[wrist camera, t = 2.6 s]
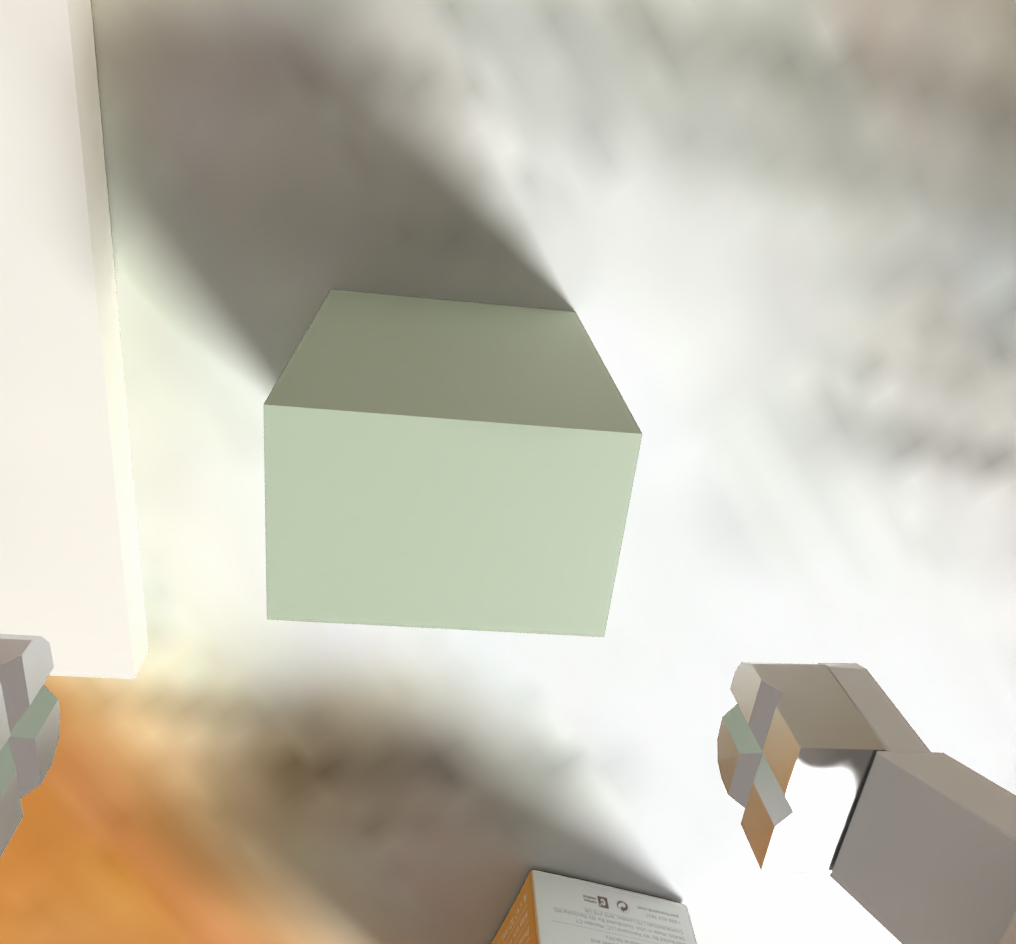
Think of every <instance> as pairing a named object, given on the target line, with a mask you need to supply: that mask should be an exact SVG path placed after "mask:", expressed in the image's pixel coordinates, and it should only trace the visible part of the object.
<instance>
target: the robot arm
mask: <svg viewBox="0 0 1016 944" xmlns="http://www.w3.org/2000/svg"><path fill="white" fill-rule="evenodd" d="M53 668H54V665H53V659H52V654H51V648H50V643H49V642H48V641H47V640H46V639H44V638H43V637H42V636H31V635H14V634H0V857H1V855H2V854H3V852H4V850H5V848H6V847H7V845H8V843H9V841H10V839H11V838H12V836H13V834H14V832H15V831H16V829H17V827H18V825H19V823H20V822H21V820H22V818H23V811H22V805H21V797H23V796H24V795H26V794H27V793H29V792H30V791H32V790H33V789H35V788H36V787H38V786H40V785H41V784H42V782H43V780H44V778H45V776H46V774H47V772H48V770H49V769H50V767H51V765H52V762H53V758H54V755H55V751H56V747H57V744H58V740H59V731H60V710H59V702H58V699H57V698H56V697H55V696H54V695H53V694H52V693H51V692H50V691H49V690H48V689H47V688H46V687H45V686H44V685H43V684H44V682H45V681H46V679H47V677H48V676H49V674H50V673H51V671H52V670H53ZM730 689H731V691H732V693H733V695H734V697H735V699H736V701H737V703H738V704H737V705H736V706H735V707H733V708H732V709H731V710H730V711H729V712H728V713H727V714H726V715H725V716H723V717H722V721H721V726H720V730H719V735H718V739H717V742H718V765H719V769H720V774H721V778H722V781H723V783H724V785H725V788H726V790H727V793H728V795H730V796H731V797H732V798H733V799H735V800H736V801H737V802H738V803H740V804H741V805H742V806H743V807H745V811H744V815H743V818H742V822H741V825H742V827H743V830H744V832H745V834H746V836H747V839H748V841H749V843H750V845H751V848H752V850H753V852H754V854H755V857H756V859H757V861H758V863H759V866H760V868H761V870H779V871H810V872H832V873H831V875H830V876H831V877H832V878H833V879H835V880H836V881H837V882H838V883H839V884H840V885H841V886H842V887H843V888H844V889H845V890H846V891H847V892H848V893H849V894H850V895H851V896H853V897H854V898H855V899H856V900H857V901H858V902H859V903H860V904H861V905H862V906H863V907H864V908H865V909H866V910H867V911H868V912H869V913H870V914H872V915H873V916H874V917H875V918H876V919H877V920H878V921H879V922H880V923H881V924H882V925H883V926H884V927H885V928H886V929H887V930H888V931H890V932H891V933H892V934H893V935H894V936H895V937H896V938H897V939H898V940H899V941H900V942H901V943H902V944H1016V795H1014V794H1012V793H1010V792H1009V791H1007V790H1005V789H1004V788H1002V787H1000V786H999V785H997V784H995V783H993V782H992V781H990V780H988V779H987V778H985V777H983V776H982V775H980V774H978V773H977V772H975V771H973V770H971V769H970V768H968V767H966V766H965V765H963V764H961V763H960V762H958V761H956V760H955V759H953V758H951V757H949V756H948V755H946V754H944V753H933V752H930V750H929V749H928V748H927V747H926V745H925V744H924V743H923V741H922V740H921V739H920V737H919V736H918V735H917V734H916V732H915V731H914V730H913V728H912V727H911V726H910V725H909V723H908V722H907V721H906V719H905V718H904V717H903V716H902V714H901V713H900V712H899V710H898V709H897V708H896V707H895V705H894V704H893V703H892V701H891V700H890V699H889V698H888V696H887V695H886V694H885V692H884V691H883V690H882V689H881V687H880V686H879V685H878V683H877V682H876V681H875V679H874V678H873V677H872V676H871V674H870V673H869V672H868V670H867V669H865V668H864V667H862V666H860V665H858V664H857V663H818V664H786V663H751V662H741V664H740V665H739V667H738V668H737V670H736V671H735V674H734V677H733V681H732V684H731V688H730Z"/></svg>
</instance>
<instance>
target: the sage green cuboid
mask: <svg viewBox="0 0 1016 944" xmlns="http://www.w3.org/2000/svg"><path fill="white" fill-rule="evenodd" d="M641 438H642V432H641V431H640V429H639V427H638V425H637V423H636V421H635V420H634V418H633V416H632V414H631V412H630V411H629V409H628V407H627V405H626V403H625V401H624V400H623V398H622V396H621V394H620V392H619V390H618V389H617V387H616V385H615V383H614V381H613V379H612V378H611V376H610V374H609V372H608V370H607V368H606V367H605V365H604V363H603V361H602V359H601V357H600V356H599V354H598V352H597V350H596V348H595V346H594V345H593V343H592V341H591V339H590V337H589V335H588V334H587V332H586V330H585V328H584V326H583V324H582V323H581V321H580V319H579V317H578V315H577V314H576V312H572V311H561V310H550V309H540V308H529V307H518V306H507V305H496V304H485V303H474V302H463V301H452V300H441V299H430V298H419V297H408V296H398V295H387V294H376V293H365V292H354V291H343V290H332V289H331V290H330V292H329V294H328V295H327V297H326V299H325V301H324V302H323V304H322V306H321V307H320V309H319V311H318V313H317V314H316V316H315V318H314V319H313V321H312V323H311V324H310V326H309V328H308V330H307V331H306V333H305V335H304V336H303V338H302V340H301V342H300V343H299V345H298V347H297V348H296V350H295V352H294V354H293V355H292V357H291V359H290V360H289V362H288V364H287V365H286V367H285V369H284V371H283V372H282V374H281V376H280V377H279V379H278V381H277V383H276V384H275V386H274V388H273V389H272V391H271V393H270V394H269V396H268V398H267V400H266V401H265V403H264V462H265V527H266V591H267V619H268V620H287V621H307V622H326V623H345V624H364V625H383V626H402V627H421V628H441V629H460V630H479V631H498V632H517V633H536V634H556V635H575V636H594V637H604V635H605V630H606V624H607V619H608V614H609V608H610V603H611V598H612V592H613V587H614V582H615V576H616V571H617V566H618V561H619V555H620V550H621V545H622V539H623V534H624V529H625V523H626V518H627V513H628V507H629V502H630V497H631V491H632V486H633V481H634V476H635V470H636V465H637V460H638V454H639V449H640V444H641Z"/></svg>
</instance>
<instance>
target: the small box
mask: <svg viewBox="0 0 1016 944" xmlns="http://www.w3.org/2000/svg"><path fill="white" fill-rule="evenodd" d="M491 944H697V942H696V938H695V935H694V931H693V928H692V924H691V920H690V916H689V913H688V909H687V907H686V905H684V904H682V903H677V902H673V901H669V900H666V899H662V898H657V897H653V896H648V895H645V894H640V893H636V892H632V891H627V890H623V889H618V888H614V887H610V886H606V885H602V884H597V883H593V882H588V881H584V880H580V879H575V878H570V877H565V876H561V875H556V874H552V873H546V872H542V871H538V870H532V871H530V872H529V874H528V876H527V878H526V880H525V882H524V884H523V886H522V888H521V890H520V893H519V894H518V896H517V898H516V900H515V902H514V903H513V905H512V907H511V909H510V911H509V913H508V915H507V916H506V918H505V920H504V921H503V923H502V925H501V927H500V928H499V930H498V932H497V934H496V935H495V937H494V939H493V941H492V943H491Z"/></svg>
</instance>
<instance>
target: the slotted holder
mask: <svg viewBox="0 0 1016 944" xmlns="http://www.w3.org/2000/svg"><path fill="white" fill-rule="evenodd" d="M0 634H14V635H31V636H42V637H43V638H44V639H46V640H47V641H48V642H49V643H50V648H51V654H52V659H53V665H54V668H53V670H52V671H51V673H50V674H49V675H50V676H74V677H98V678H121V679H135V677H136V675H137V673H138V672H139V670H140V668H141V666H142V664H143V662H144V660H145V658H146V656H147V655H148V653H149V650H148V639H147V628H146V616H145V605H144V594H143V583H142V571H141V560H140V549H139V538H138V527H137V515H136V504H135V493H134V482H133V470H132V459H131V448H130V437H129V426H128V414H127V403H126V392H125V381H124V369H123V358H122V347H121V336H120V325H119V313H118V302H117V291H116V280H115V269H114V257H113V246H112V235H111V224H110V212H109V201H108V190H107V179H106V168H105V156H104V145H103V134H102V123H101V111H100V100H99V89H98V78H97V67H96V55H95V44H94V33H93V22H92V10H91V0H0Z"/></svg>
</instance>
